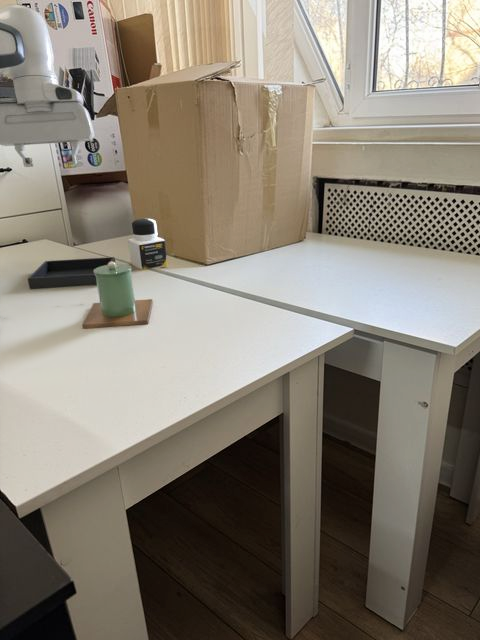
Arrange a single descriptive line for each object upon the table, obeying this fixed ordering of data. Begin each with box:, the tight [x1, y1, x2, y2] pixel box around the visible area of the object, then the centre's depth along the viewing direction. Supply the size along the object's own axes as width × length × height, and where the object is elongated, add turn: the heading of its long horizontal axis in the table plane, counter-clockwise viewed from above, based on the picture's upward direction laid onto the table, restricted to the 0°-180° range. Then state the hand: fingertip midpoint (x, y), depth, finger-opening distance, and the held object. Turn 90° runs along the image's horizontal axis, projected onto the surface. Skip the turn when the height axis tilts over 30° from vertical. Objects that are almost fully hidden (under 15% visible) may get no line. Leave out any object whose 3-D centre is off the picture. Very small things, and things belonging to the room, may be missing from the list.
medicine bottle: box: [127, 218, 168, 270], centre depth 130 cm, size 7×7×12 cm
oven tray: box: [27, 256, 116, 290], centre depth 123 cm, size 17×15×3 cm
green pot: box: [93, 261, 136, 317], centre depth 98 cm, size 7×7×10 cm
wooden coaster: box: [81, 298, 154, 329], centre depth 100 cm, size 12×12×1 cm
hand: (51, 165), depth 111 cm, fingers open, 8 cm apart
